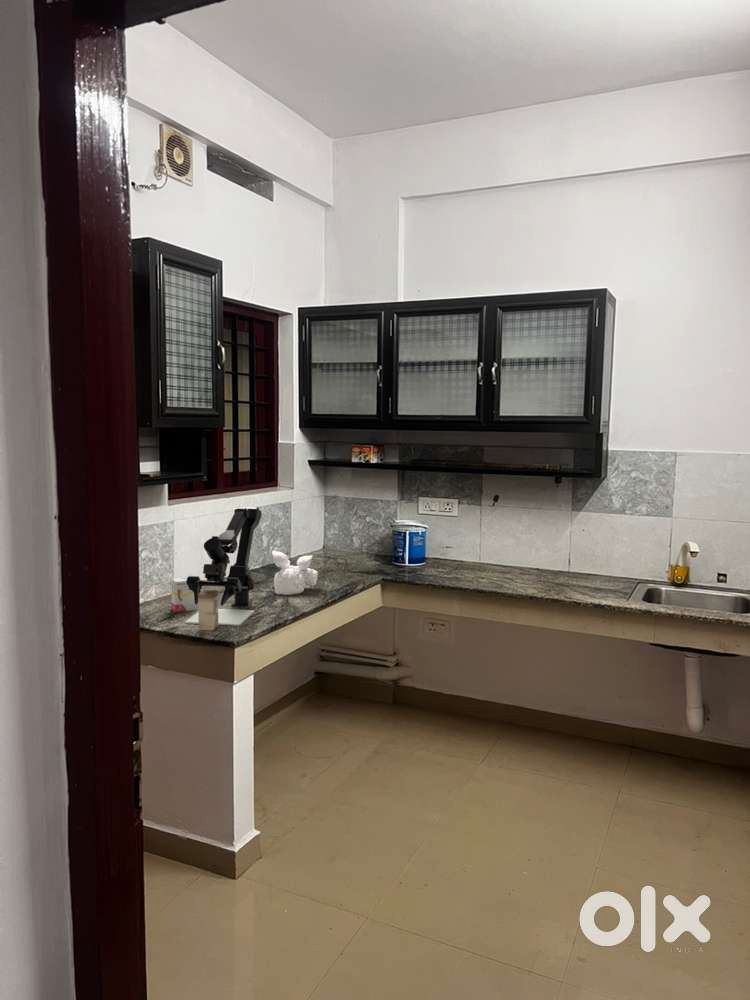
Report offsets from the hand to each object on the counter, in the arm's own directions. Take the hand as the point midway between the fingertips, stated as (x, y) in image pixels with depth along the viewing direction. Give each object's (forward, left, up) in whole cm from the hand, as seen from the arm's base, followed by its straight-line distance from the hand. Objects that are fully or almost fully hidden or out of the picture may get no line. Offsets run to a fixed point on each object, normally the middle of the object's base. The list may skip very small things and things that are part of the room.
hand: (208, 604), depth 256 cm
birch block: (0, 0, -8) cm, 8 cm away
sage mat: (-13, 0, -8) cm, 15 cm away
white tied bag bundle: (-59, +17, -8) cm, 62 cm away
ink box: (-21, -17, -8) cm, 28 cm away
